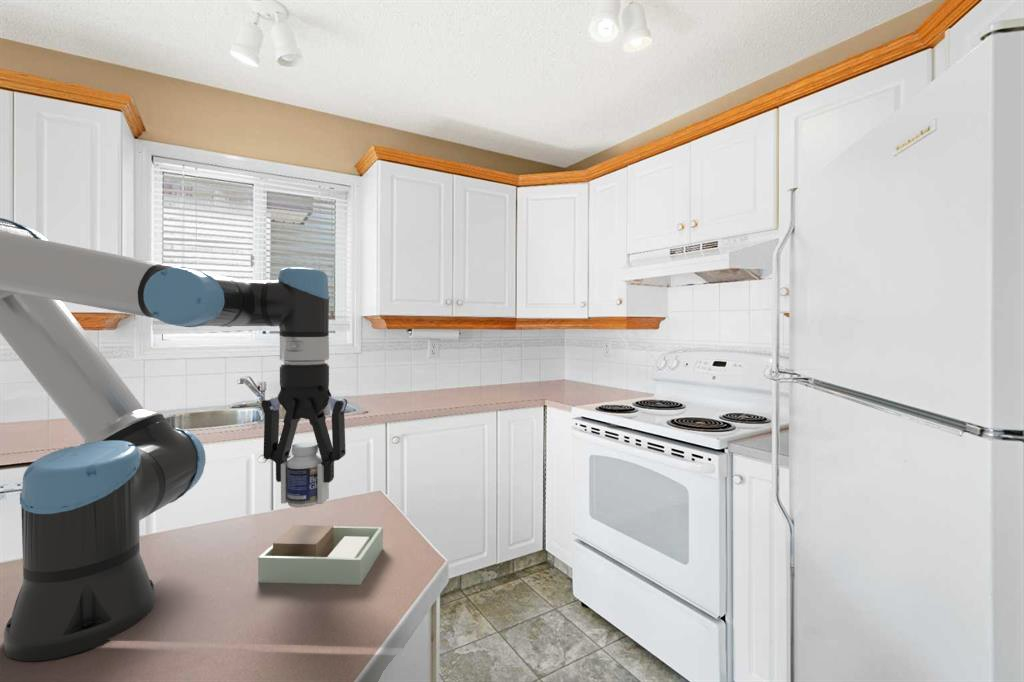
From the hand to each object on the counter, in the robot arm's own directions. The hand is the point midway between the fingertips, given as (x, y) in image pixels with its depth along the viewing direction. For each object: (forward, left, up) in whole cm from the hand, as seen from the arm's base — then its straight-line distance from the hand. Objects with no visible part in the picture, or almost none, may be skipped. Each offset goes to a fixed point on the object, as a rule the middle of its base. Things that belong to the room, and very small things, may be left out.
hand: (305, 500), depth 79 cm
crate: (+3, 0, -11) cm, 12 cm away
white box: (+7, 0, -11) cm, 13 cm away
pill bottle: (0, 0, 0) cm, 1 cm away
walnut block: (0, 0, -11) cm, 11 cm away
